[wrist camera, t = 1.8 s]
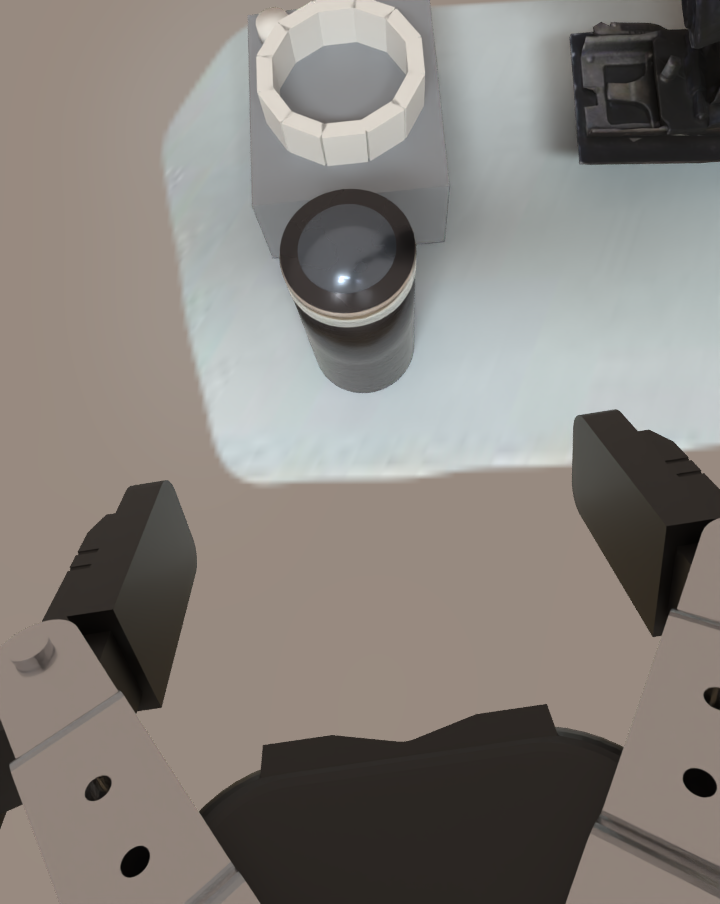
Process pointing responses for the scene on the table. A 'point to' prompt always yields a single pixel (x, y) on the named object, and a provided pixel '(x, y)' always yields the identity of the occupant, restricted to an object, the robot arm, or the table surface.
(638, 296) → the table surface
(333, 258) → the lens
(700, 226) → the table surface
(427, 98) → the grey base with ring
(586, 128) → the vintage camera
